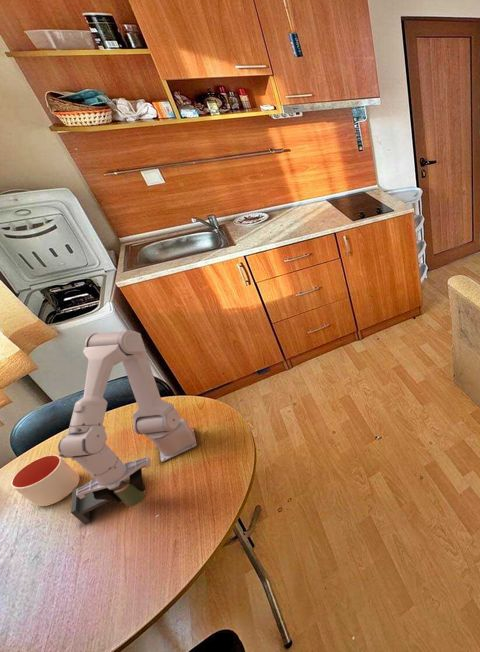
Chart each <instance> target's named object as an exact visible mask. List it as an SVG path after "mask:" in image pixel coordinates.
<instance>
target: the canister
mask: <svg viewBox="0 0 480 652" xmlns="http://www.w3.org/2000/svg"><path fill="white" fill-rule="evenodd" d="M110 491H111V492H113V493H114V494H115V495H116V496H117V497H118V498H119V499H120V500H121V503H123V504H124V505H125V506H126V507H134V506H137V505H138V504H140V503H142V501H144V500H145V497H146V496H147V492H146V489H145V490H144V491H141V490H140V489H139V488H138V487H137V486H136V485H135V484H133V483H131V482H130V476H128V477H127V478H125V479H124V480H123V481H121V482H120V485H119V486H117V487H115V488H113V489H111V490H110Z"/></svg>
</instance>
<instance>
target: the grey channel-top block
mask: <svg viewBox="0 0 480 652" xmlns="http://www.w3.org/2000/svg"><path fill="white" fill-rule="evenodd" d="M78 488H79V487H78V486H77V487H76V488H75V489H73V491H72V492H71V493H72V495H71V496H72V497H71V505H70V514H71V515H72V516H74V517H75V518H76V519H77V520H79V521H80V522H81V523H82V524H83V525H84V524H87V523H89V522H90V521H91V520H90V518H91V511H92V510H94V509H96V508H98V507H100V506H102V505H104V504H107V503H108V502H110V500H104V499H99V500H96V499H95V498H94V494H93V493H92V492H91V493H89V494H86V497H84V498H82V499H80V498H79V497H77V496H76V490H77V489H78Z"/></svg>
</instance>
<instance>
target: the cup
mask: <svg viewBox="0 0 480 652" xmlns="http://www.w3.org/2000/svg"><path fill="white" fill-rule="evenodd" d="M80 479H81V478H80V474H79V473H78V472H77V471H76V470H75V469H74V468H72V466H70V465H69V463H67V462H66V461H65V459H64V458H62V457H60V456H59V454H58V455H57V454H48V455H44V456H42V457H39V458H37V459H35V460H33V461H31V462H29V463H27V464H26V465H25V466H23V467H22V468H21V469H19V470H18V471H17V472H16V473H15V475H14V476H13V478H12V479H11V482H10V486H11V488H13V489H14V490H15V491H17V492H18V493H19V494H20V495H22V497H24V498H26V500H28V501H29V502H31V503H32V505H34V506H37V507H47V506H50V505H53V504H56V503H58V502H60V501H62V500H63V499H65V498H66V497H68V496H69V495H70V494H71V493H73V489H75V488H77V487H78V485H79V482H80Z"/></svg>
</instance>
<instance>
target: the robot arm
mask: <svg viewBox="0 0 480 652" xmlns="http://www.w3.org/2000/svg"><path fill="white" fill-rule="evenodd" d="M142 337H143V336H142V334H141V333H140V332H138V331H135V330H132V329H130V330H129V329H128V330H125V331H123V330H121V331H110V332H99V333H98V332H95V333H91V334H89V335H87V337H86V339H85V342H84V348H83V351H82V353H83V355H84V356H85V358H86V359H87V361H88V362H87V369H86V375H85V382H84V390H83V396H82V397H81V398H80V399H79V400H77V401H76V402H74V407H73V411H72V415H71V419H70V422H69V426H68V429H67V434H65V435H64V436H62V438H61V439H60V440H59V442H58V445H57V450H58V452H59V453H58V456H60V457H61V458H62V459H68V458H69V459H71V460H72V461H74V462H76V463H77V464H79V466H80V467H82V469H83V470H84V471H86V472H87V473H88V474H89V475H90V476H91V477H92V478H93V479H91V480H90V481H88V482H87V483H85V484H83V485H82V486H79V487H78V489H77V490H76V496H77V497H79V498H80V499H82V498H84V497H86V494H89V493H91V492H92V493H93V494H94V498H95V499H96V500H99V499H104V500H110V501H111V502H114V503H116V504H120V503H122V501H121V500H120V499H119V498H118V497H117V496H116V495H115V494H114V493H113V492H111V491H110V490H111V489H113V488H115V487H117V486H119V485H120V482H121V481H123V480H124V479H125V478H127V477H128V476H130V482H131V483H133V484H135V485H136V486H137V487H138V488H139V489H140V490H141V491H144V490H145V491H146V484H145V482H144V480H143V468H149V467H152V460H151V459H150V458H149V456H145V457H142V458H139V459H135V460H131V461H127V462H123V461H122V459H120V457H118V456H117V454H116V453H115V452H114V451H113V450H112V448H110V447H109V445H107V443H106V442H107V440H108V435H107V432H106V427H105V425H104V422H105V418H106V417H105V416H106V411H107V408H108V401H107V399H105V398H104V396H105V395H104V394H105V392H106V388H107V387H108V382H109V379H110V377H111V374H112V370H113V368H114V367H115V366H117V365H118V364H120V363H122V365H123V367H124V371H125V374H126V377H127V379H128V382H129V385H130V387H131V391H132V393H133V396H134V400H135V401H136V405H137V409H136V410H135V411H134V412H133V413H132V414H131V415H132V419H133V420H132V421H133V425H132V426H133V427H132V428H133V430H134V432H135V434H137V435H144V436H145V437H146V438H149V439H150V441H152V443H153V444H154V446H155V447H156V448H157V450H158V451H159V456H160V457H159V458H160V462H161V463H163V462H166V461H168V460H170V459H172V458H174V457H176V456H179V455H180V454H182V453H185V452H187V451H189V450H191V449H193V448H196V447H197V445H198V444H197V438H196V432H195V431H194V428H192V426H191V425H190V423H189V422H188V420H187V419H186V418H181V416H180V413H179V411H178V410H177V409H176V408H175V405H174V404H173V403H171V402H169V401H166V400H163V399H162V397H161V395H160V391H159V388H158V385H157V382H156V379H155V377H154V373H153V370H152V367H151V364H150V361H149V358H148V354H147V350H146V347H145V344H144V343H145V342H144V340H143V338H142ZM110 501H109V502H110Z"/></svg>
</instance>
